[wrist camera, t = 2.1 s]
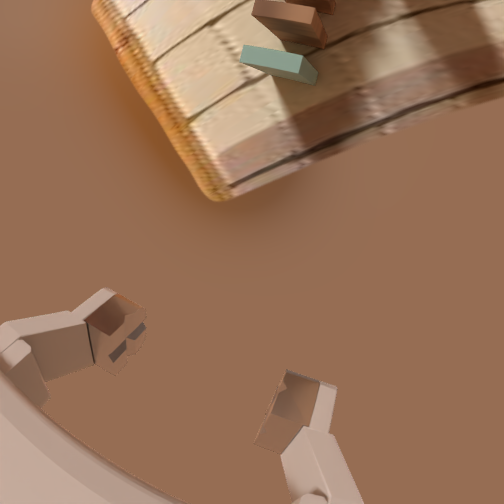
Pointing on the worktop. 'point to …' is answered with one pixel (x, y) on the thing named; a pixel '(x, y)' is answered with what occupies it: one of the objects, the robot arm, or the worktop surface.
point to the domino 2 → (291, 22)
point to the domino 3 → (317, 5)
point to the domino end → (279, 64)
